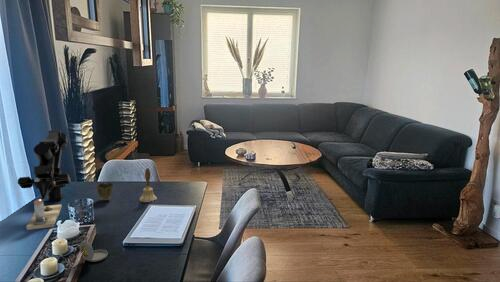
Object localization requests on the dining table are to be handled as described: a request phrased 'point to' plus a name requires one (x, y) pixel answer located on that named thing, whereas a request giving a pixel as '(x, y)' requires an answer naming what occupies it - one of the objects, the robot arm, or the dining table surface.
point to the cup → (105, 190)
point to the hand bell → (147, 189)
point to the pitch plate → (51, 215)
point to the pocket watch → (91, 252)
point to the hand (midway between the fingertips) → (43, 199)
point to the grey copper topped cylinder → (39, 212)
